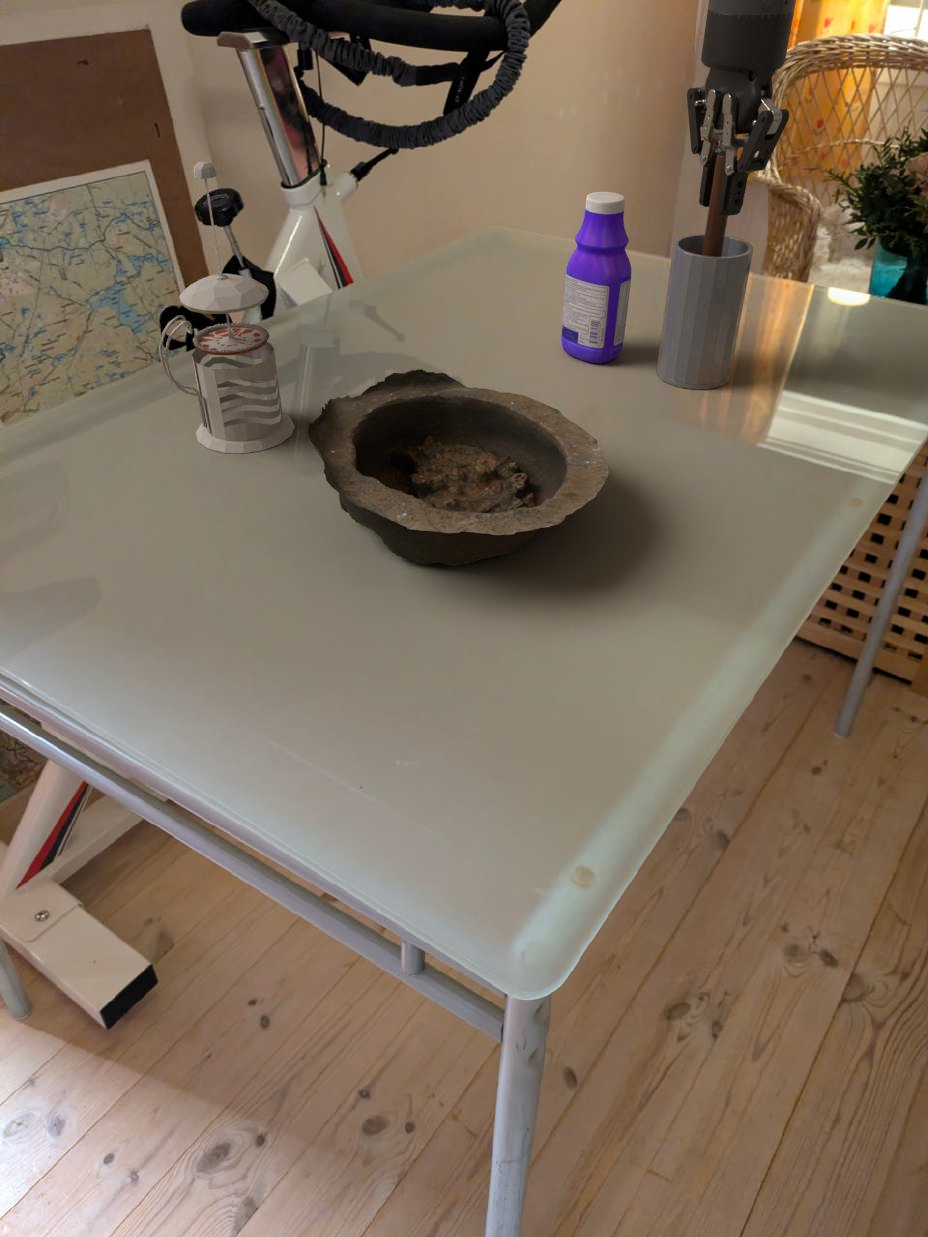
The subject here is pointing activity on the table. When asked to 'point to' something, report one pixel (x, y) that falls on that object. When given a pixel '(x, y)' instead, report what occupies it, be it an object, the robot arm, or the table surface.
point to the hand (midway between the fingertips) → (718, 208)
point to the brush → (715, 213)
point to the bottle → (597, 282)
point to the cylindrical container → (702, 312)
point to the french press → (231, 361)
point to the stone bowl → (454, 466)
